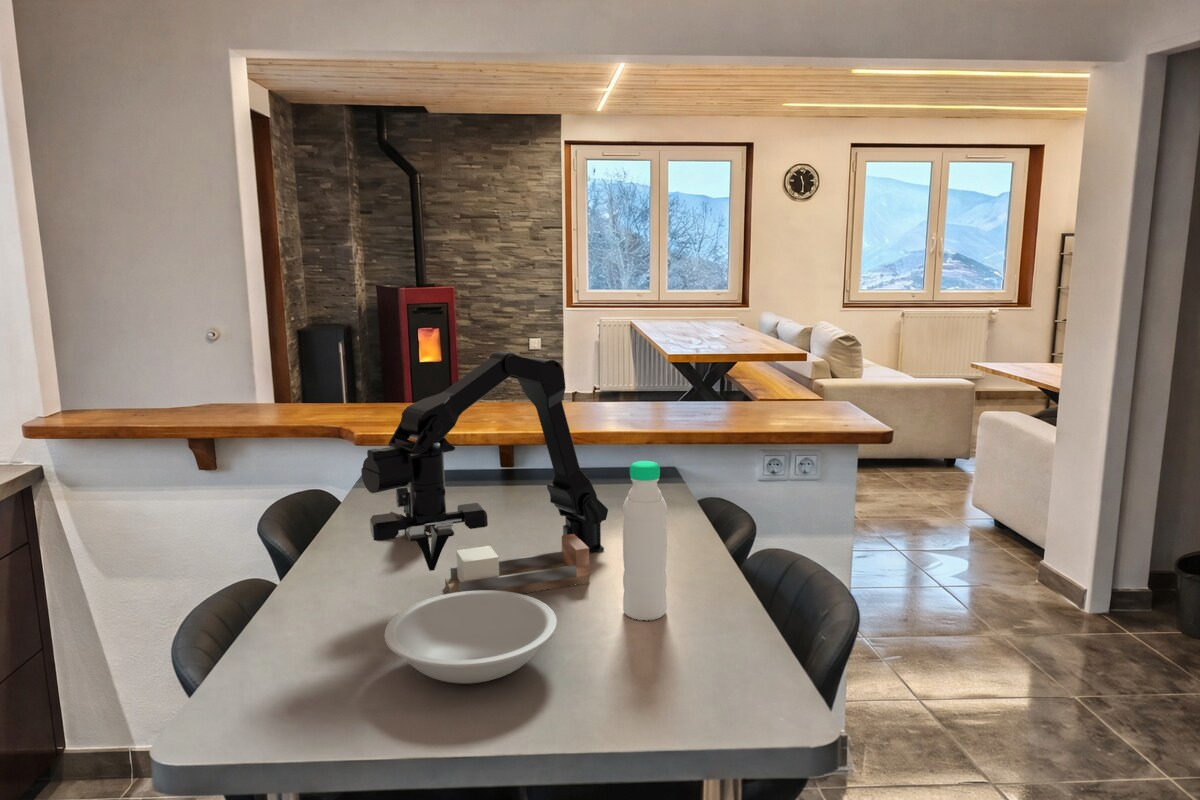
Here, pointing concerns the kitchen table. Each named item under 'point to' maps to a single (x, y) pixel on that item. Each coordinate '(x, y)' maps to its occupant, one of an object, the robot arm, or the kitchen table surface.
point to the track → (533, 571)
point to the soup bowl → (471, 634)
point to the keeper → (477, 563)
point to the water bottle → (644, 545)
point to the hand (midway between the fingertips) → (431, 569)
